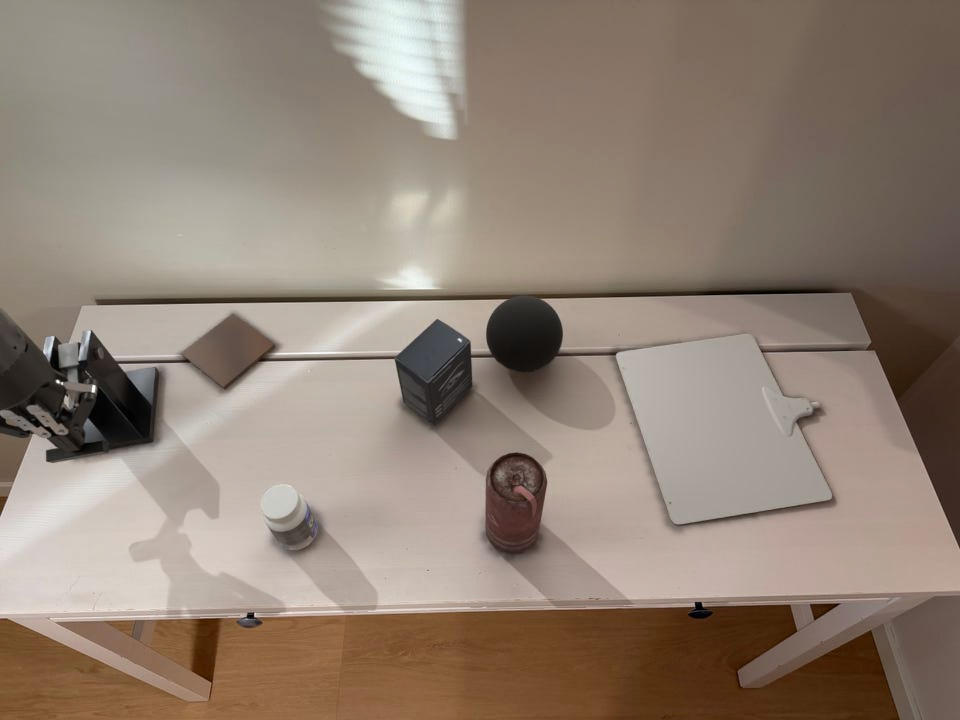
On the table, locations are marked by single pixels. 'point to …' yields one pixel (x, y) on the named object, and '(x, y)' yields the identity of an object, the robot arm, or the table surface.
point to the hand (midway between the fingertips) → (76, 443)
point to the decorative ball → (524, 333)
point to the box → (435, 371)
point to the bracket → (113, 394)
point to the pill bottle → (288, 517)
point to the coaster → (228, 350)
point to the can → (514, 502)
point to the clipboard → (720, 429)
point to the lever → (74, 372)
